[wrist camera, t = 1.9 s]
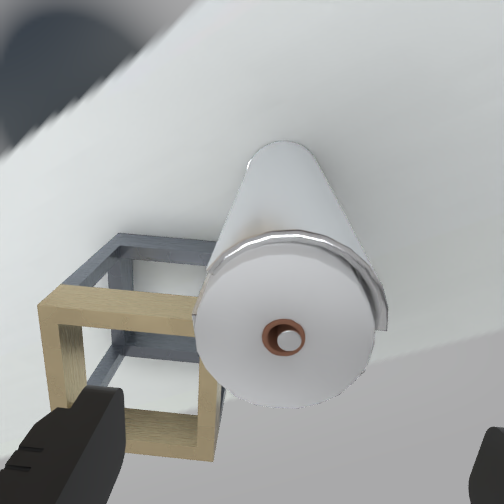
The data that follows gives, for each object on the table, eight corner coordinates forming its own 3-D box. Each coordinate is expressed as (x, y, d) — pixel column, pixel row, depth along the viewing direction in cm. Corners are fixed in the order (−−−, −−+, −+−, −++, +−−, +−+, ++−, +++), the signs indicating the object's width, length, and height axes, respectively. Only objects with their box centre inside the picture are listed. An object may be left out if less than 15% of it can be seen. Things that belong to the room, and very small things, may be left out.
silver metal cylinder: (278, 229, 38) (276, 454, 14) (230, 175, 36) (141, 328, 13) (336, 183, 36) (441, 354, 13) (288, 123, 34) (306, 194, 11)
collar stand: (240, 243, 38) (220, 322, 25) (233, 348, 43) (213, 461, 30) (118, 232, 39) (37, 305, 26) (123, 337, 43) (55, 445, 30)
